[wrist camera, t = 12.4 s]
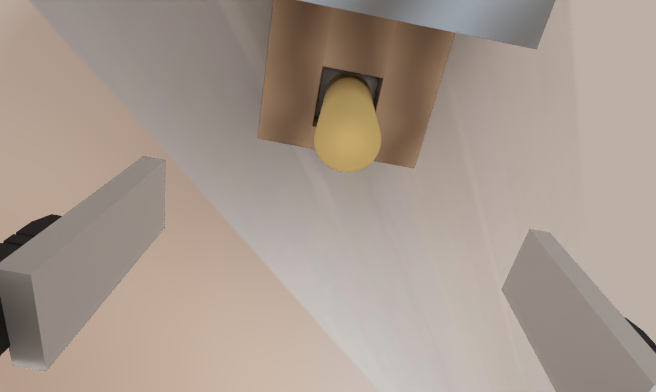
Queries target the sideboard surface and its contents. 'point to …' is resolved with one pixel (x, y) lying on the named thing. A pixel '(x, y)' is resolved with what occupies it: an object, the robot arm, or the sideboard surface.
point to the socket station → (378, 59)
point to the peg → (347, 125)
